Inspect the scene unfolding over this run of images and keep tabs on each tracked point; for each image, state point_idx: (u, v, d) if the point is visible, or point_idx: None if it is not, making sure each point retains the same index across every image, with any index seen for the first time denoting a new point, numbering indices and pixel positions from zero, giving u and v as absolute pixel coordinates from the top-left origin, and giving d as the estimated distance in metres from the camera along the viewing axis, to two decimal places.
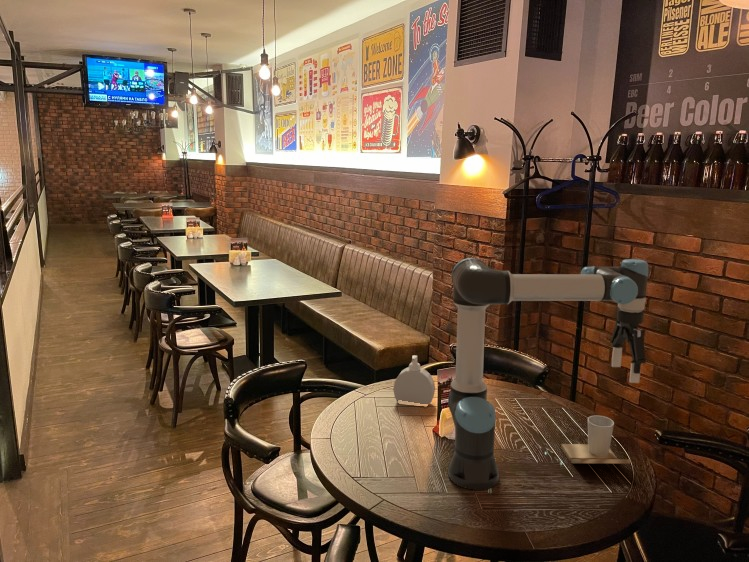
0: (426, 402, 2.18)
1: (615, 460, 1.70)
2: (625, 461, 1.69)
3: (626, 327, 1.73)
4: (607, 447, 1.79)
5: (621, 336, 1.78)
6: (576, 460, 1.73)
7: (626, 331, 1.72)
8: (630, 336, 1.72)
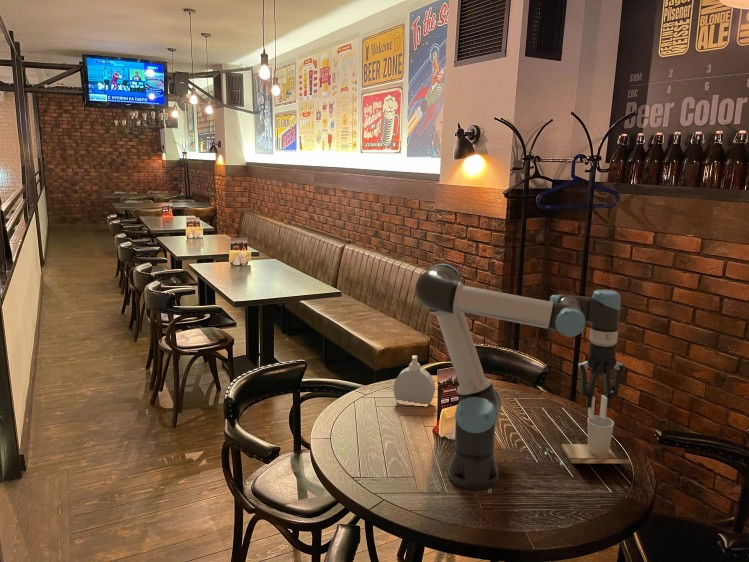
0: (426, 402, 2.18)
1: (615, 460, 1.70)
2: (625, 461, 1.69)
3: None
4: (607, 447, 1.79)
5: (603, 375, 1.67)
6: (576, 460, 1.73)
7: None
8: None
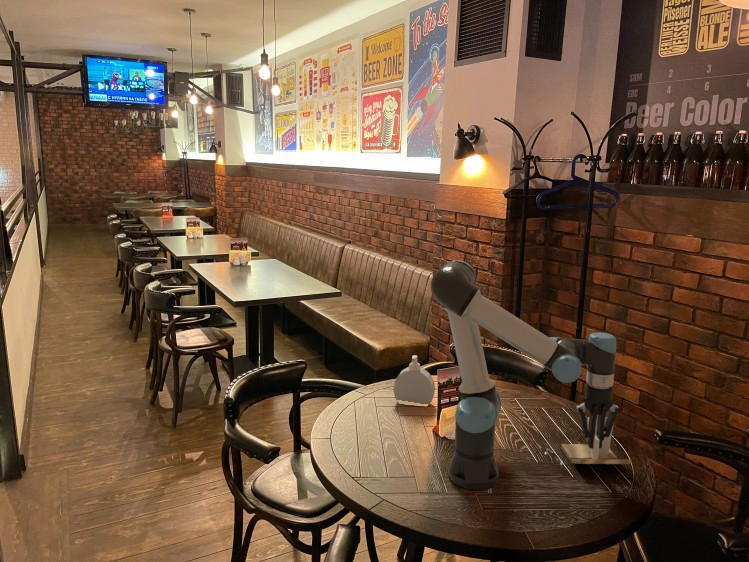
0: (426, 402, 2.18)
1: (616, 460, 1.69)
2: (625, 461, 1.69)
3: None
4: (607, 447, 1.79)
5: (598, 416, 1.69)
6: (576, 460, 1.73)
7: None
8: None
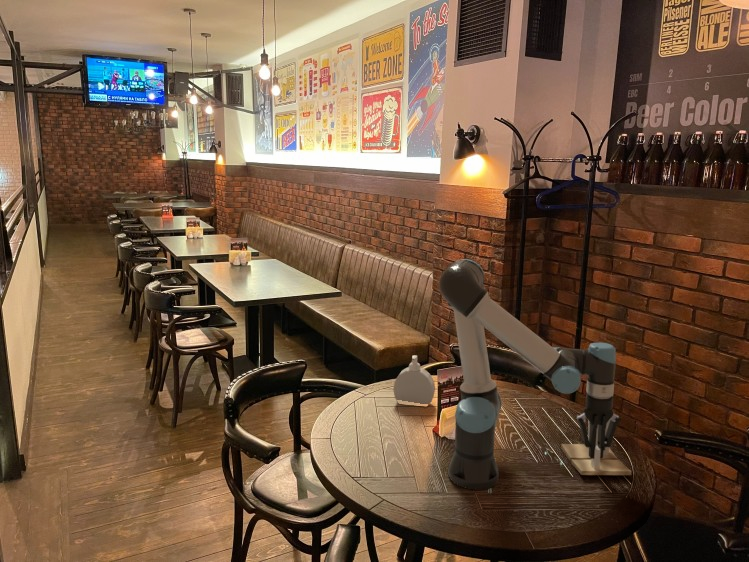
0: (426, 402, 2.18)
1: (617, 472, 1.69)
2: (626, 473, 1.69)
3: None
4: (608, 447, 1.79)
5: (599, 426, 1.69)
6: (577, 467, 1.73)
7: None
8: None
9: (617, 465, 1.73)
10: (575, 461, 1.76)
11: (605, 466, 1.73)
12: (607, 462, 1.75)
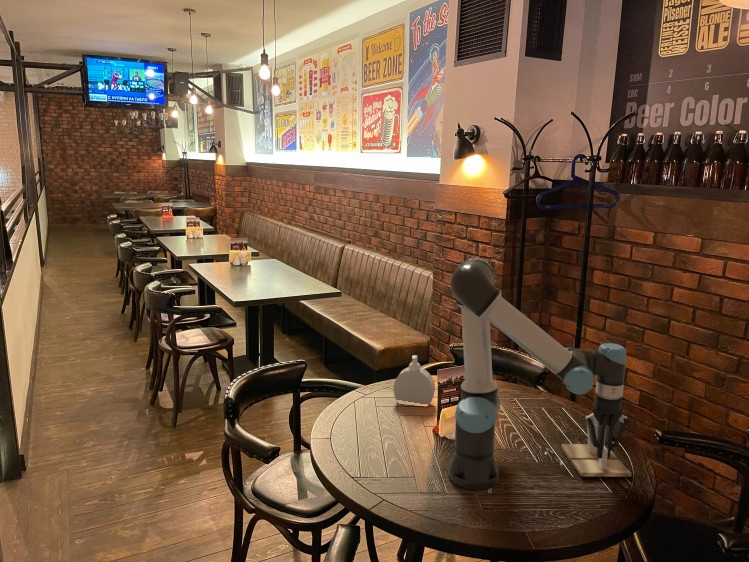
0: (426, 402, 2.18)
1: (617, 473, 1.69)
2: (626, 474, 1.69)
3: None
4: None
5: (607, 426, 1.70)
6: (577, 468, 1.73)
7: None
8: None
9: (617, 466, 1.73)
10: (575, 461, 1.76)
11: None
12: (607, 463, 1.75)
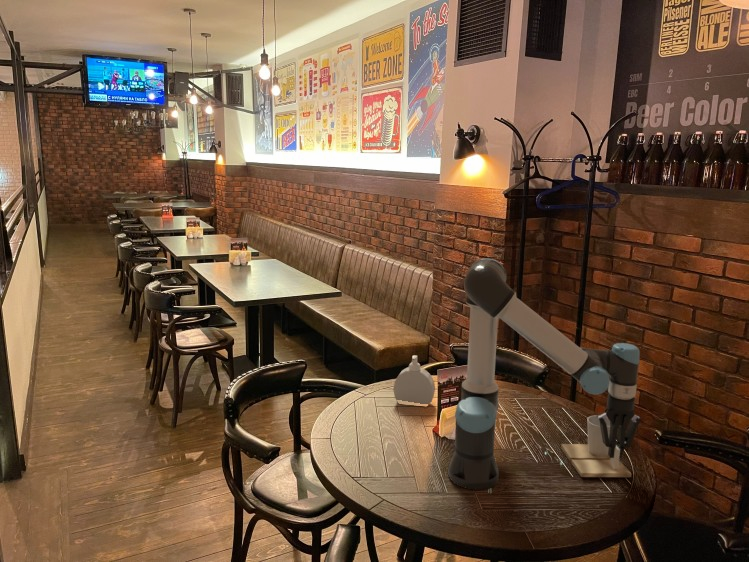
0: (426, 402, 2.18)
1: (617, 474, 1.69)
2: (626, 475, 1.69)
3: None
4: (607, 447, 1.79)
5: (619, 426, 1.70)
6: (577, 468, 1.73)
7: None
8: None
9: (618, 467, 1.73)
10: (575, 461, 1.76)
11: (605, 467, 1.73)
12: (607, 463, 1.75)
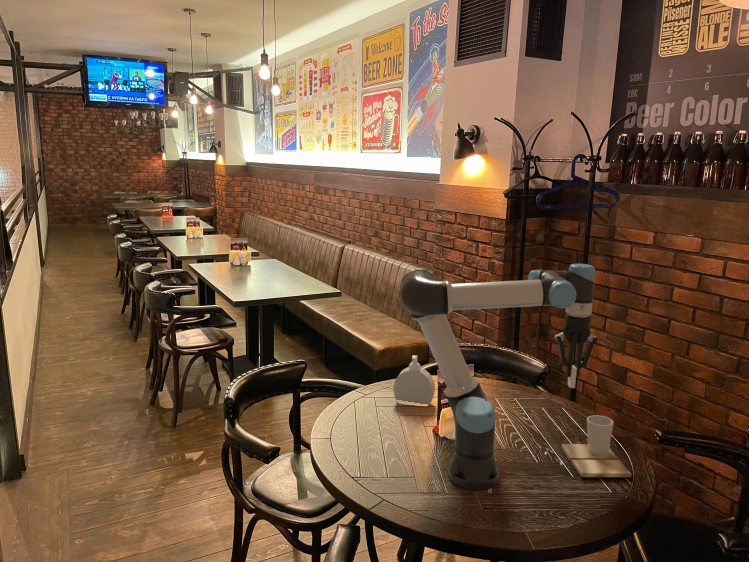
0: (426, 402, 2.18)
1: (617, 474, 1.69)
2: (626, 475, 1.69)
3: None
4: (607, 446, 1.79)
5: (576, 345, 1.75)
6: (577, 468, 1.73)
7: None
8: None
9: (618, 467, 1.73)
10: (575, 461, 1.76)
11: (605, 467, 1.73)
12: (607, 463, 1.75)
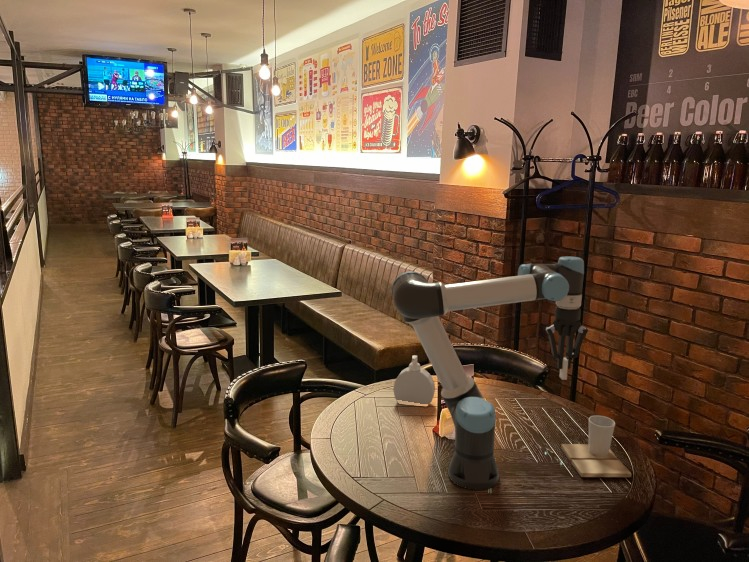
0: (426, 402, 2.18)
1: (617, 474, 1.69)
2: (626, 475, 1.69)
3: None
4: (608, 447, 1.79)
5: (567, 337, 1.76)
6: (577, 468, 1.73)
7: None
8: None
9: (618, 467, 1.73)
10: (575, 461, 1.76)
11: (605, 467, 1.73)
12: (607, 463, 1.75)
